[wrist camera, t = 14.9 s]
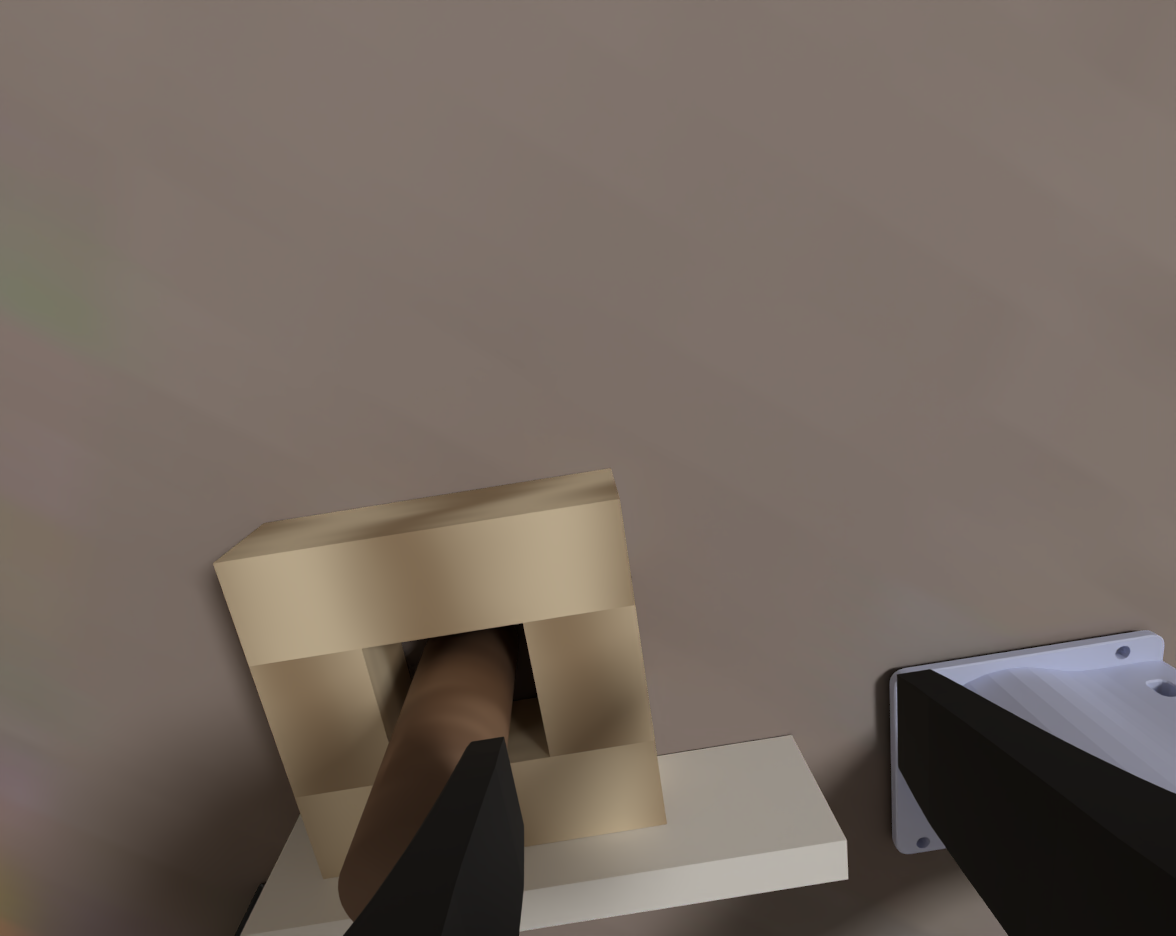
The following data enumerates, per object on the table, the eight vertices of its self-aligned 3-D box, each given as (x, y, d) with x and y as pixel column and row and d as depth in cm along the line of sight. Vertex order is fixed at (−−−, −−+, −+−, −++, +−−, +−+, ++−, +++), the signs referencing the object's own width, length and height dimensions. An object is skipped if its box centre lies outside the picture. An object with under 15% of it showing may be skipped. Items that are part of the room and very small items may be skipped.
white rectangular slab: (791, 734, 23) (846, 840, 18) (799, 852, 24) (852, 975, 20) (300, 812, 23) (239, 936, 18) (340, 925, 24) (292, 1064, 20)
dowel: (514, 599, 21) (481, 821, 12) (523, 677, 21) (499, 938, 13) (423, 607, 21) (324, 836, 12) (435, 685, 21) (352, 953, 13)
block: (610, 468, 20) (619, 498, 17) (653, 756, 23) (667, 824, 20) (264, 523, 20) (212, 563, 17) (353, 803, 23) (323, 878, 20)
